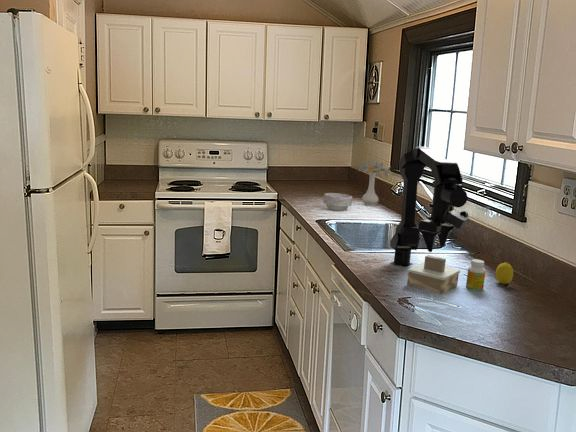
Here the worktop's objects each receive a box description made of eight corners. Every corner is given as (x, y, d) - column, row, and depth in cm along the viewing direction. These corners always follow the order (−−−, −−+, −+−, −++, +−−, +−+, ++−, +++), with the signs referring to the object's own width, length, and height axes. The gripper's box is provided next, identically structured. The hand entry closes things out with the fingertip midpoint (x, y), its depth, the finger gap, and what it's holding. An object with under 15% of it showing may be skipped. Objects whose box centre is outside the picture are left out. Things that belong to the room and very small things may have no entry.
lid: (424, 264, 200) (425, 250, 199) (459, 272, 192) (461, 258, 192) (407, 271, 190) (409, 256, 189) (444, 280, 183) (446, 265, 182)
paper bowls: (356, 209, 320) (357, 195, 318) (343, 213, 307) (344, 198, 305) (331, 205, 328) (332, 191, 326) (317, 209, 315) (318, 194, 313)
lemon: (497, 281, 203) (500, 259, 202) (513, 285, 200) (517, 262, 198) (491, 284, 199) (494, 261, 197) (508, 288, 196) (511, 265, 194)
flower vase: (390, 207, 334) (394, 163, 329) (359, 206, 329) (363, 161, 324) (380, 203, 346) (384, 160, 341) (351, 202, 341) (354, 159, 336)
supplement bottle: (471, 292, 189) (475, 263, 187) (462, 287, 194) (465, 258, 192) (486, 292, 190) (490, 263, 188) (476, 287, 195) (480, 258, 193)
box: (422, 278, 200) (424, 264, 199) (456, 287, 193) (458, 272, 192) (406, 286, 191) (408, 271, 190) (442, 295, 184) (443, 280, 183)
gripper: (454, 208, 175) (448, 259, 178) (477, 202, 189) (471, 249, 192) (419, 202, 181) (414, 252, 184) (444, 196, 196) (439, 242, 199)
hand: (436, 249), depth 190 cm, fingers open, 9 cm apart
